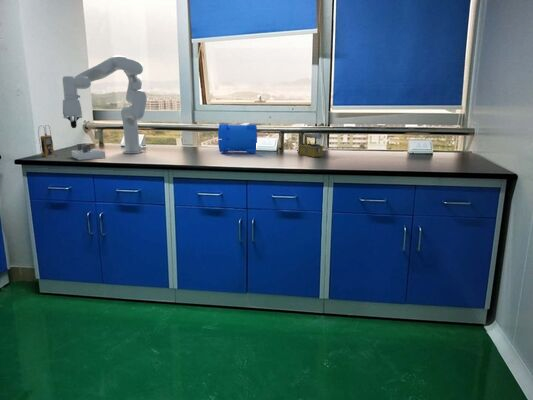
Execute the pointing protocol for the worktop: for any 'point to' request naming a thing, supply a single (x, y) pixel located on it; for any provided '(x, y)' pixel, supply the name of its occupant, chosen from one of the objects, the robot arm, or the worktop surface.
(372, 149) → the worktop surface
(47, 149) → the multimeter
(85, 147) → the breaker
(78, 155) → the breaker panel
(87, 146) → the breaker
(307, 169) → the worktop surface
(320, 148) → the geiger counter
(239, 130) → the blue plastic case
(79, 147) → the breaker
